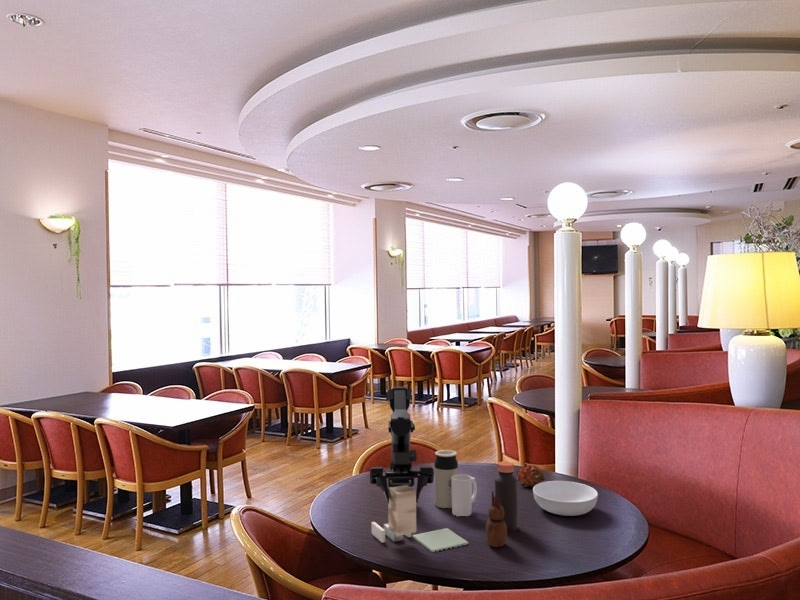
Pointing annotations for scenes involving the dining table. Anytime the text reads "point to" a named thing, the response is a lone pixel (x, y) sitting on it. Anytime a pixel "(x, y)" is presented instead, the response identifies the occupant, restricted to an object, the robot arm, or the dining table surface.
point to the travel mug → (444, 477)
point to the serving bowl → (565, 497)
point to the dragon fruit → (530, 476)
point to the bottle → (507, 493)
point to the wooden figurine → (496, 524)
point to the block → (402, 510)
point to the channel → (380, 532)
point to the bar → (391, 534)
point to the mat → (439, 539)
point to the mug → (462, 494)
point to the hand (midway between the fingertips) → (402, 502)
